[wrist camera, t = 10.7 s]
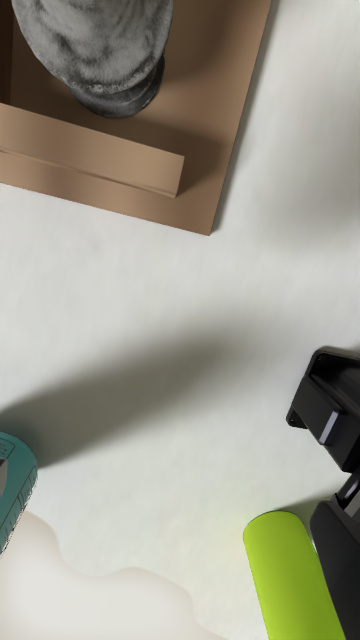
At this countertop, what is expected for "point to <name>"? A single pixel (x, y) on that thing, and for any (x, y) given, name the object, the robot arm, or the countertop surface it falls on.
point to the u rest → (135, 121)
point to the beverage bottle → (15, 482)
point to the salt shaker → (101, 48)
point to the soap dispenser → (289, 580)
